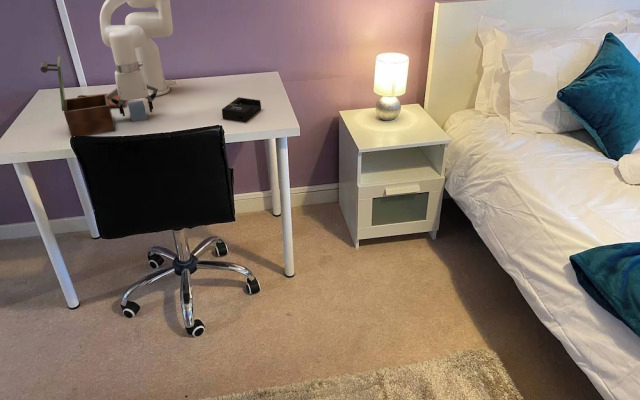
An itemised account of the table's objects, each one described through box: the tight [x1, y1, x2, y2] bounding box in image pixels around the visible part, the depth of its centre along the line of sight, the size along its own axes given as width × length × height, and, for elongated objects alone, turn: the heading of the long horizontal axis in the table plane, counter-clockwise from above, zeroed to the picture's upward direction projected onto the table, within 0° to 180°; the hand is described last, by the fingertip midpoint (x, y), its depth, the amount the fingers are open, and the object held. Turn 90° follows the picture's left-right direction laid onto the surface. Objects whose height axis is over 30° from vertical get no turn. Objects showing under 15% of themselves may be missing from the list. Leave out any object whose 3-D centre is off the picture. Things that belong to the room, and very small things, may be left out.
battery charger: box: [221, 96, 262, 124], centre depth 180 cm, size 13×10×4 cm
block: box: [127, 100, 148, 122], centre depth 178 cm, size 5×5×5 cm
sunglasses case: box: [76, 93, 128, 109], centre depth 189 cm, size 18×7×7 cm, turn 105°
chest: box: [63, 93, 116, 138], centre depth 170 cm, size 14×13×9 cm
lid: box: [40, 55, 66, 112], centre depth 160 cm, size 15×13×6 cm
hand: (137, 113), depth 178 cm, fingers open, 9 cm apart
